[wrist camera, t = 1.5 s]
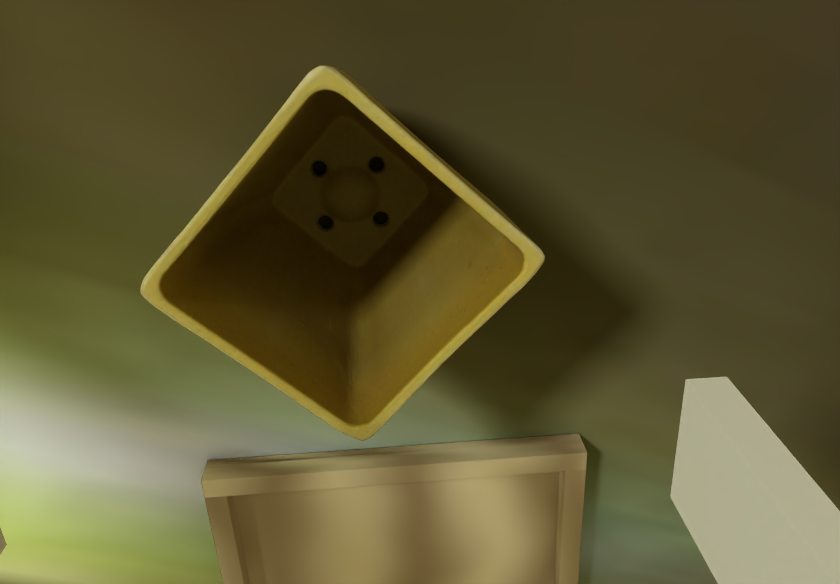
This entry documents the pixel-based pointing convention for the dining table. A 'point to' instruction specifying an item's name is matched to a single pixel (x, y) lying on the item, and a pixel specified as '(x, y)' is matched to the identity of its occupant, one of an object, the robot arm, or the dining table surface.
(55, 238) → the dining table surface
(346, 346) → the flower pot
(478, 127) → the dining table surface
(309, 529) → the holder tray
